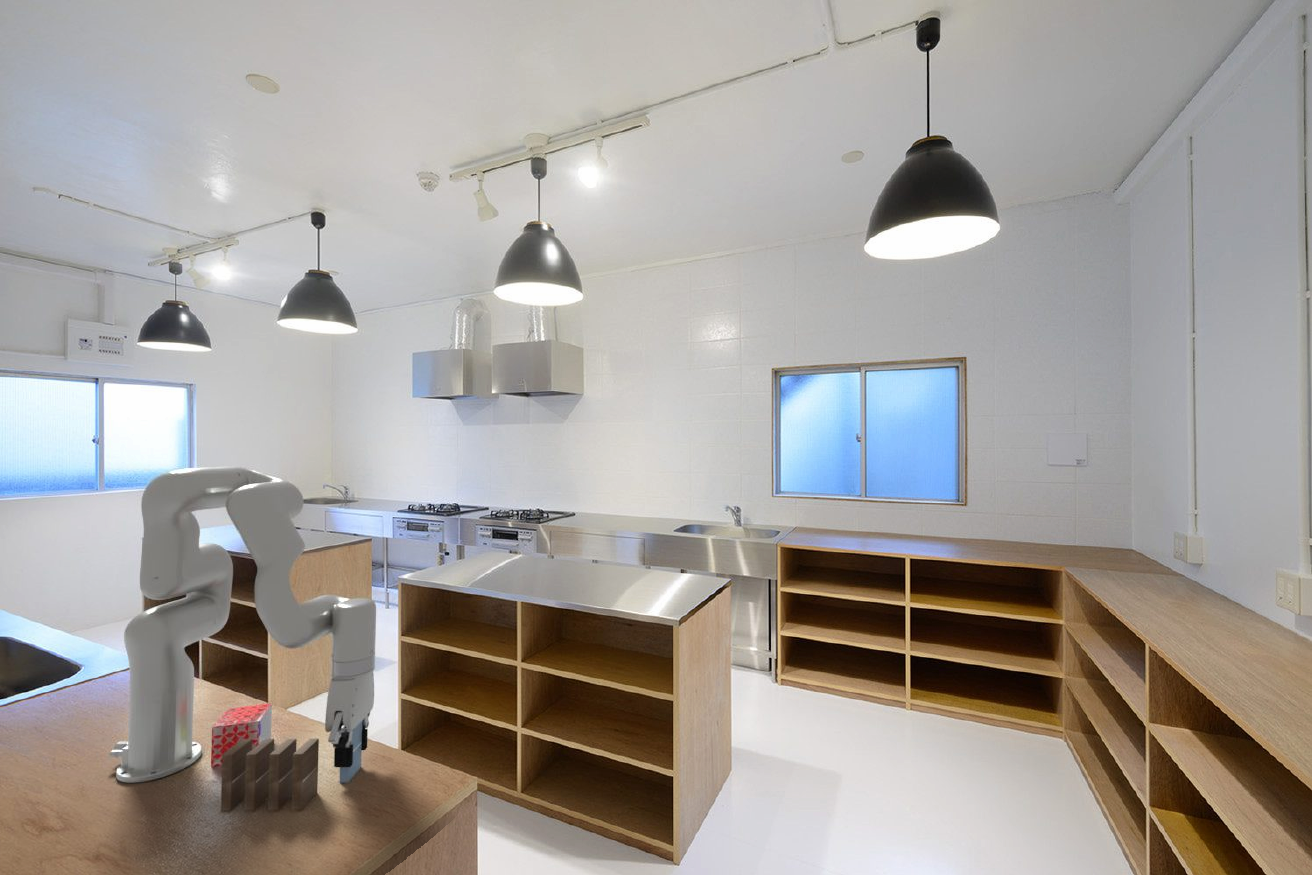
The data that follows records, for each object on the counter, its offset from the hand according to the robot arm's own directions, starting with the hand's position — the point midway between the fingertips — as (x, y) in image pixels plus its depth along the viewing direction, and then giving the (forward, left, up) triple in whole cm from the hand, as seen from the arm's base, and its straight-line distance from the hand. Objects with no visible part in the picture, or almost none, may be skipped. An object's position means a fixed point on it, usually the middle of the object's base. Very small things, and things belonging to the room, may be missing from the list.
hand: (351, 756), depth 106 cm
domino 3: (-8, -8, -3) cm, 12 cm away
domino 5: (0, 0, -3) cm, 3 cm away
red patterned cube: (-26, +8, -4) cm, 28 cm away
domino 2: (-12, -8, -3) cm, 15 cm away
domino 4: (-4, -8, -3) cm, 10 cm away
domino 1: (-16, -8, -3) cm, 18 cm away
